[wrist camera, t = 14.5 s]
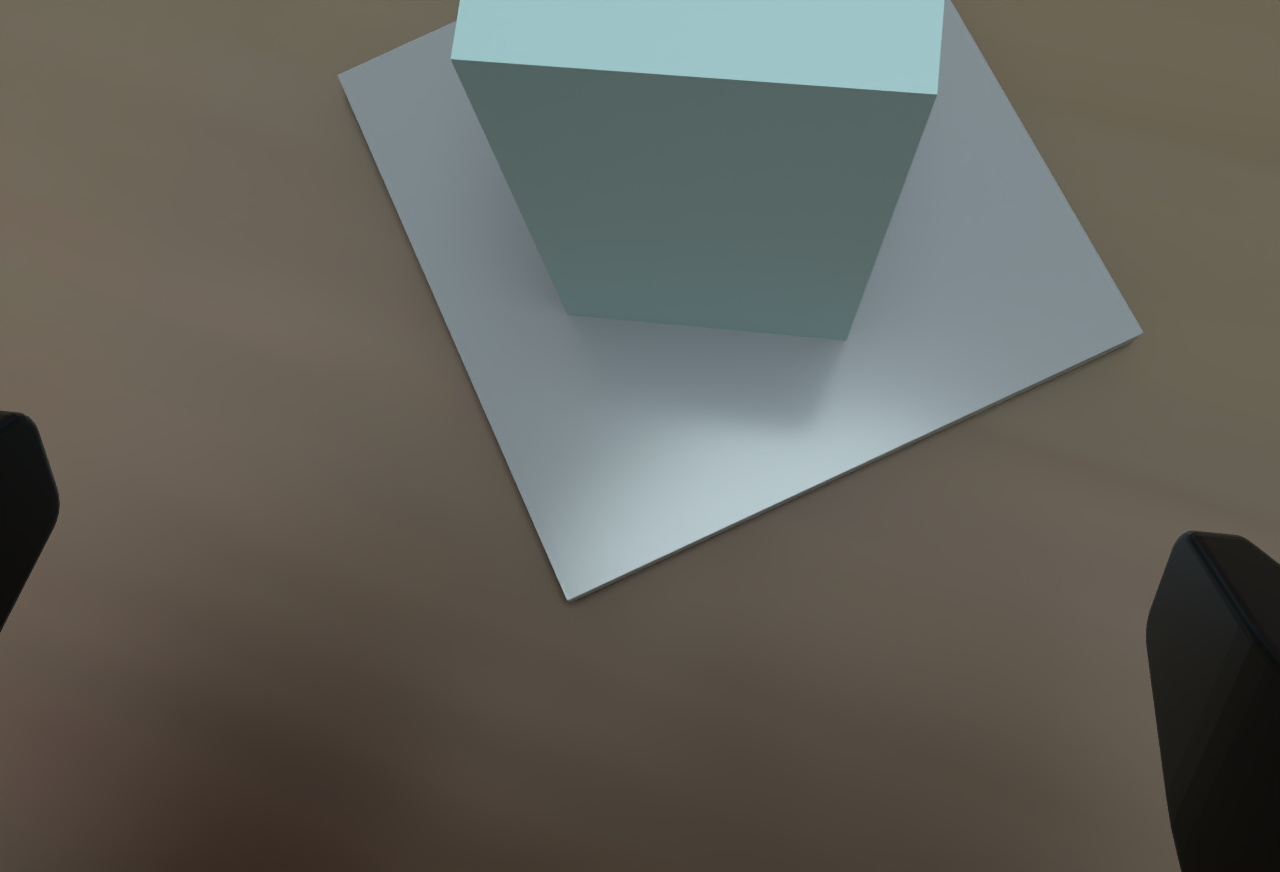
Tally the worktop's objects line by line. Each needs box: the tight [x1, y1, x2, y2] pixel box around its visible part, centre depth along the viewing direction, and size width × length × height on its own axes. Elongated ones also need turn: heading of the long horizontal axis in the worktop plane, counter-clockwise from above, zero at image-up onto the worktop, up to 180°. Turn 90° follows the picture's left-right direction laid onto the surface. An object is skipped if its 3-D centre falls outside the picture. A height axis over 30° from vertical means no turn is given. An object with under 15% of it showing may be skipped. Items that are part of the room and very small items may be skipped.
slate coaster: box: [338, 0, 1143, 602], centre depth 21 cm, size 11×11×1 cm
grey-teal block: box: [451, 0, 944, 341], centre depth 17 cm, size 5×5×9 cm
